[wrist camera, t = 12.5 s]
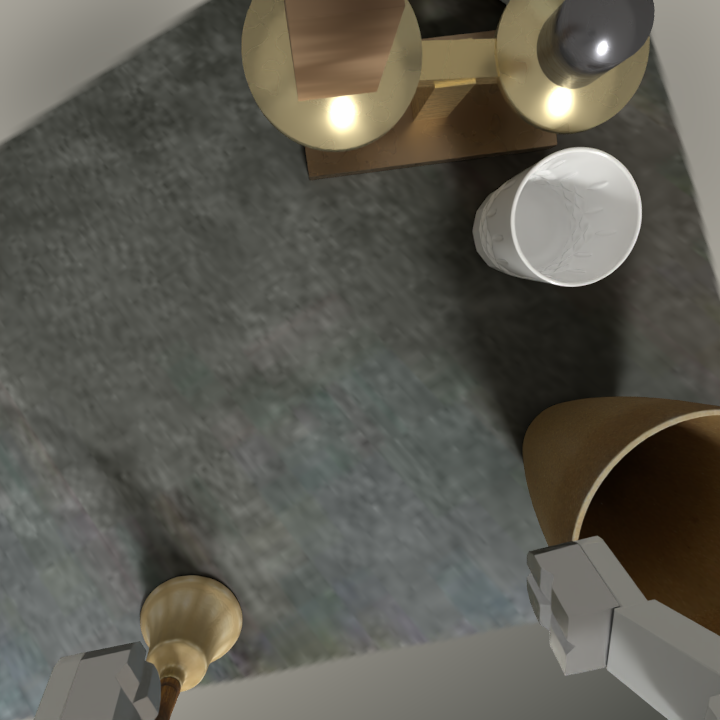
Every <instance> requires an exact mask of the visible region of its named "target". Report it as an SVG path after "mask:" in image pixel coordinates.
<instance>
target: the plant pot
mask: <svg viewBox="0 0 720 720" xmlns="http://www.w3.org/2000/svg"><path fill="white" fill-rule="evenodd" d="M523 461H524V469H525V476H526V481H527V485H528V489H529V493H530V497H531V500H532V504H533V507H534V510H535V513H536V516H537V518H538V521H539V524H540V527H541V529H542V531H543V534H544V536H545V539H546V541H547V544H548V546H553V545H557V544H561V543H566V542H570V541H573V542H574V541H577V540H581V539H585V538H589V537H593V536H599V537H600V538H602V539H603V540H604V542H605V543H606V544H607V546H608V547H609V549H610V550H611V551H612V553H613V554H614V555H615V557H616V558H617V560H618V561H619V562H620V564H621V565H622V566H623V568H624V569H625V570H626V572H627V573H628V575H629V576H630V577H631V579H632V580H633V581H634V583H635V584H636V586H637V587H638V588H639V590H640V591H641V592H642V594H643V595H644V596H645V598H646V599H647V601H649V600H654V599H655V600H657V601H658V602H660V603H662V604H664V605H666V606H667V607H669V608H671V609H673V610H674V611H676V612H678V613H680V614H682V615H683V616H685V617H687V618H689V619H690V620H692V621H694V622H696V623H697V624H699V625H701V626H703V627H705V628H706V629H708V630H710V631H712V632H713V633H715V634H717V635H719V636H720V406H714V405H707V404H700V403H693V402H686V401H679V400H670V399H660V398H647V397H597V398H586V399H578V400H573V401H568V402H563V403H559V404H556V405H553V406H551V407H549V408H547V409H545V410H544V411H542V412H541V413H540V414H539V415H538V416H537V417H536V418H535V419H534V420H533V421H532V423H531V424H530V425H529V427H528V429H527V431H526V434H525V437H524V441H523Z"/></svg>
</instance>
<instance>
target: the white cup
mask: <svg viewBox="0 0 720 720" xmlns="http://www.w3.org/2000/svg"><path fill="white" fill-rule="evenodd" d="M641 219H642V205H641V198H640V194H639V190H638V188H637V185H636V183H635V181H634V179H633V177H632V175H631V174H630V172H629V171H628V170H627V168H626V167H625V166H624V165H623V164H622V163H621V162H620V161H618V160H617V159H616V158H614V157H613V156H611V155H610V154H608V153H606V152H603V151H601V150H598V149H594V148H588V147H573V148H567V149H563V150H560V151H557V152H555V153H552V154H550V155H549V156H547V157H545V158H544V159H542V160H540V161H539V162H537V163H536V164H534V165H532V166H531V167H529V168H527V169H526V170H524V171H522V172H521V173H519V174H517V175H516V176H514V177H513V178H511V179H510V180H508V181H507V182H505V183H504V184H503V185H502V186H500V187H499V188H498V189H497V190H496V191H494V192H492V193H490V194H489V195H488V196H487V198H486V199H485V200H484V202H483V203H482V204H481V206H480V207H479V208H478V210H477V211H476V216H475V220H474V225H473V230H472V233H473V237H474V242H475V246H476V251H477V252H478V253H479V255H480V256H481V257H482V259H483V260H484V261H485V262H486V264H487V265H488V266H489V267H491V268H494V269H496V270H498V271H500V272H502V273H505V274H508V275H512V276H515V277H519V278H524V279H527V280H532V281H538V282H543V283H549V284H554V285H560V286H567V287H576V286H584V285H588V284H591V283H594V282H597V281H599V280H601V279H603V278H605V277H606V276H608V275H609V274H611V273H612V272H613V271H615V270H616V269H617V268H618V267H619V266H620V265H621V264H622V263H623V262H624V261H625V259H626V258H627V257H628V255H629V254H630V252H631V250H632V249H633V247H634V245H635V242H636V240H637V237H638V234H639V231H640V226H641Z"/></svg>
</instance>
